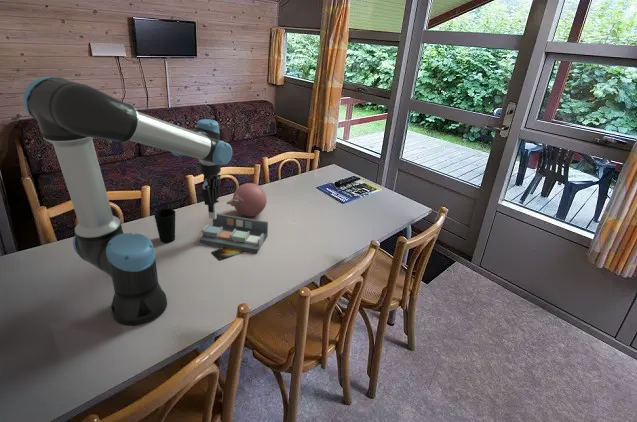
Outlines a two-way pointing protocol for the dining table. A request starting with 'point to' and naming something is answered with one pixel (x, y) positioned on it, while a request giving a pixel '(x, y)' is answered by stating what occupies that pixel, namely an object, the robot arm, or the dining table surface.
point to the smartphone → (226, 253)
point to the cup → (165, 224)
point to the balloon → (249, 199)
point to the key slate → (211, 231)
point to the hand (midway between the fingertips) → (212, 217)
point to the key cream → (252, 240)
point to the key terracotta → (225, 235)
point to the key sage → (239, 236)
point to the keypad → (232, 225)
